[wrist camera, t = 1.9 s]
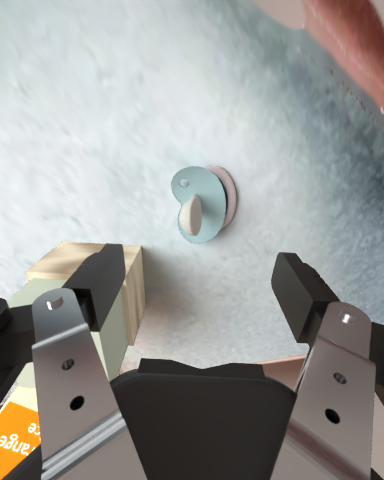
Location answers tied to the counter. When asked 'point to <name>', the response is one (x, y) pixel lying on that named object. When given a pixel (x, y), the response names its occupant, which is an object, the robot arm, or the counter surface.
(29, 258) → the counter surface
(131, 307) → the maple block
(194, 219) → the pacifier
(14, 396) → the orange juice
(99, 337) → the sage block
